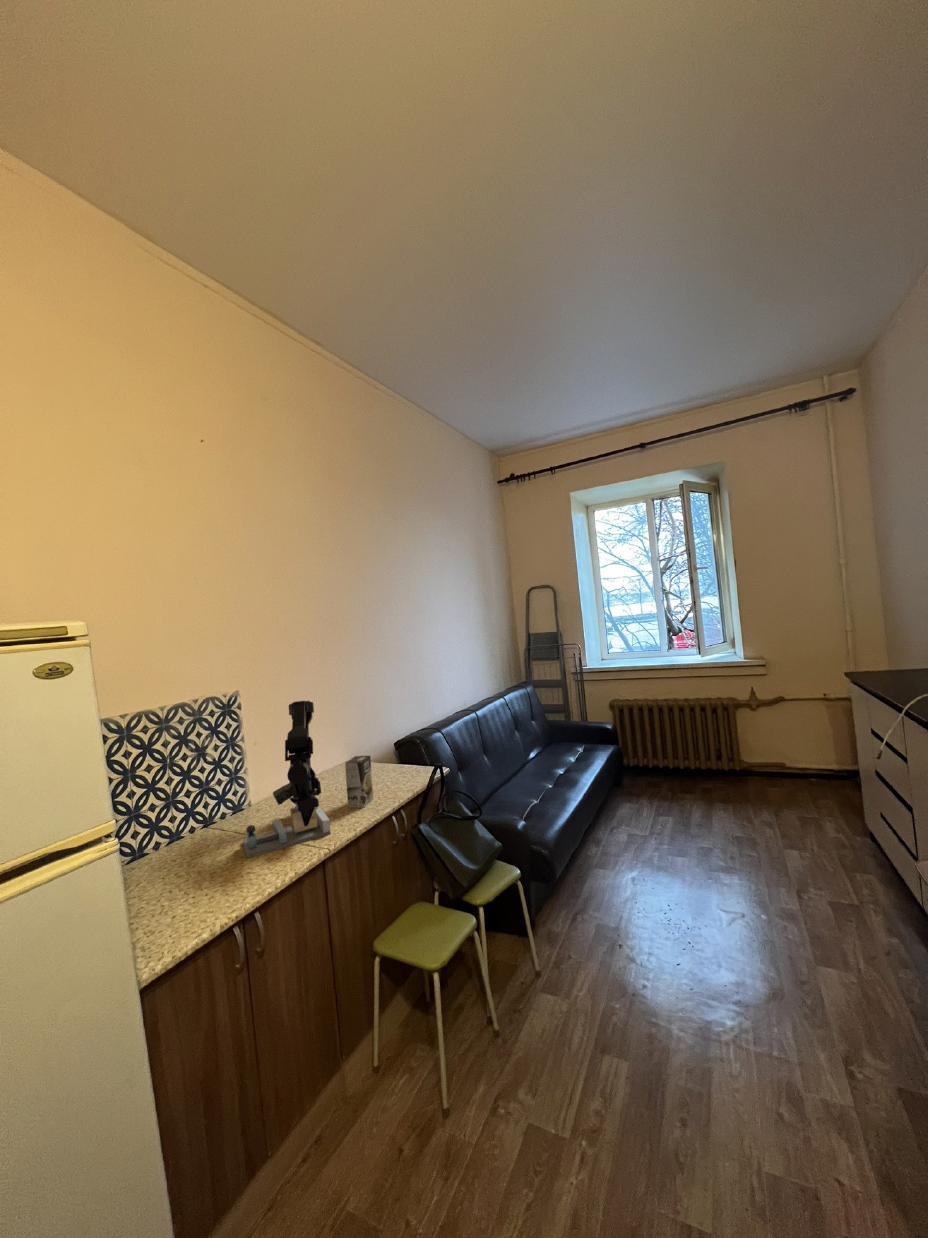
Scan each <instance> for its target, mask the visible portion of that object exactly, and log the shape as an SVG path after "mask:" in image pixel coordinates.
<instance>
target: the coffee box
mask: <svg viewBox="0 0 928 1238" xmlns="http://www.w3.org/2000/svg"><path fill="white" fill-rule="evenodd" d="M371 759H372V758H371V755H356V756H354V757H351V759H349V760H348V761H346V762H345V763H344V767H345V782H346V795H347V807H348V808H352V809H353V808H356V809H359V808H361V809H363V808H365V807H366V806H367V805H368V804H369V803H370V802H371V801H372V800H373V799H374V789H373V788H374V787H373V785H374V784H373V775H372V773H373V772H372V760H371Z"/></svg>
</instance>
